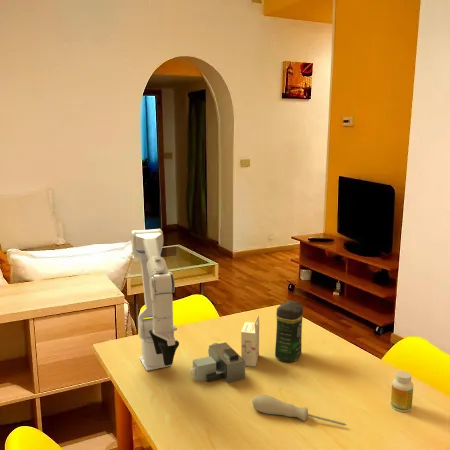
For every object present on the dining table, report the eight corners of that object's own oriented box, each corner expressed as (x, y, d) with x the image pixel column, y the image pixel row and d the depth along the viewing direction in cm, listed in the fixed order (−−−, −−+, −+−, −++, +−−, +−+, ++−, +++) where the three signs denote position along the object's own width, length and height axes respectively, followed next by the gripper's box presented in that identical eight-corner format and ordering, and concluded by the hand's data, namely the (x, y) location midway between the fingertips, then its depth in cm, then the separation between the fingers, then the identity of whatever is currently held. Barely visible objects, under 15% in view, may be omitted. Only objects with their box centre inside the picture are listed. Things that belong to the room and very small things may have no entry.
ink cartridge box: (244, 353, 158) (245, 312, 155) (259, 355, 157) (259, 313, 154) (240, 365, 149) (240, 322, 146) (255, 367, 148) (256, 324, 146)
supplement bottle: (409, 415, 123) (412, 381, 121) (388, 408, 126) (390, 375, 124) (413, 405, 127) (416, 372, 126) (393, 399, 130) (395, 367, 128)
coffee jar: (294, 365, 150) (296, 310, 146) (271, 359, 153) (273, 306, 150) (304, 353, 158) (306, 301, 154) (282, 348, 162) (284, 297, 158)
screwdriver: (344, 438, 116) (346, 425, 115) (250, 413, 125) (250, 401, 123) (347, 423, 120) (348, 411, 119) (255, 400, 129) (255, 388, 127)
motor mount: (192, 363, 151) (192, 343, 150) (223, 356, 155) (223, 337, 154) (211, 387, 137) (211, 365, 135) (245, 379, 141) (245, 357, 140)
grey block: (188, 375, 143) (188, 360, 142) (210, 370, 146) (210, 356, 145) (193, 382, 139) (193, 367, 138) (216, 377, 142) (216, 362, 141)
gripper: (185, 321, 127) (186, 366, 130) (167, 304, 140) (169, 346, 143) (160, 325, 124) (161, 372, 127) (145, 308, 137) (146, 350, 140)
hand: (164, 358), depth 135 cm, fingers open, 7 cm apart
